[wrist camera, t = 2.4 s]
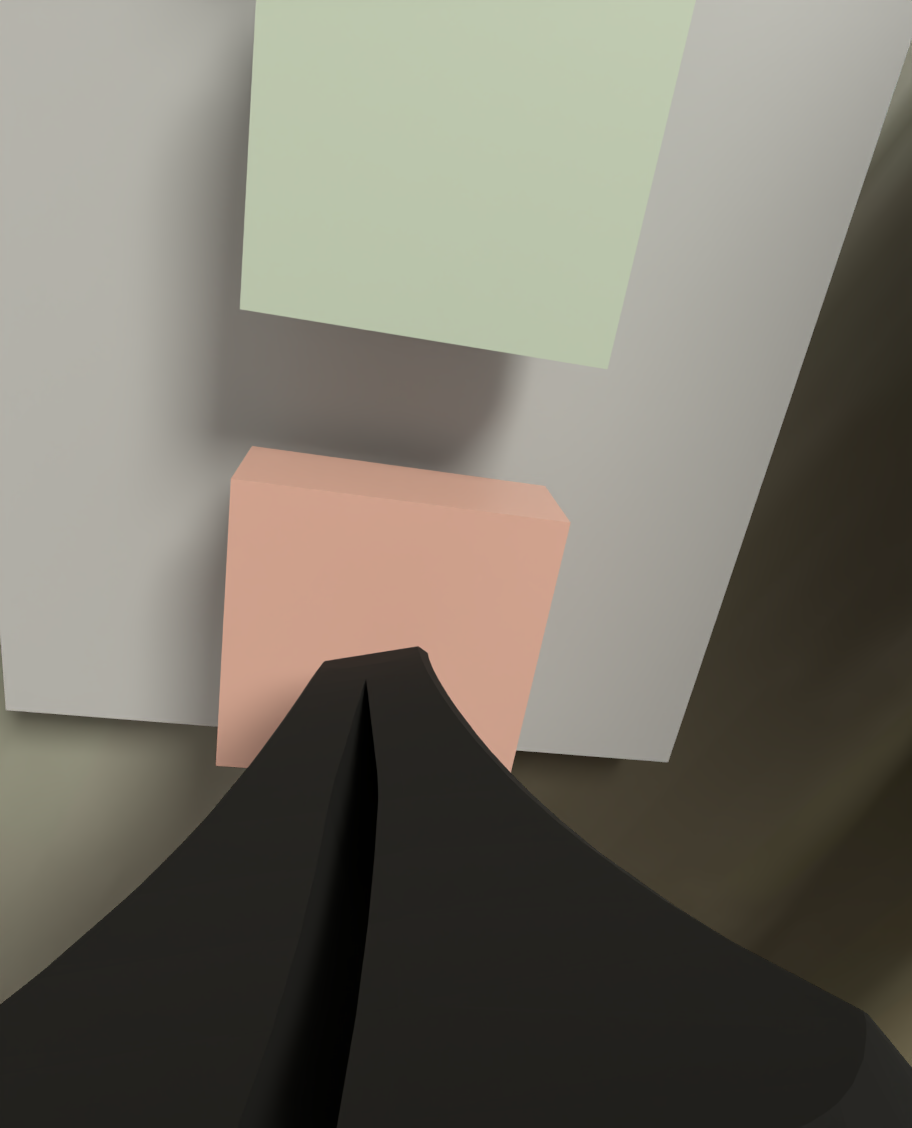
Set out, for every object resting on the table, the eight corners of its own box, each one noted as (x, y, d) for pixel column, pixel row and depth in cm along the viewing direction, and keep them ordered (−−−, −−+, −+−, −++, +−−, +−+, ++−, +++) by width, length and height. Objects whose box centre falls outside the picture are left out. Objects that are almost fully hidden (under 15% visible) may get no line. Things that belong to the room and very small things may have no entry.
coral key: (527, 460, 14) (570, 522, 11) (481, 679, 16) (507, 786, 12) (266, 423, 13) (231, 478, 10) (250, 657, 15) (215, 766, 12)
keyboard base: (1071, -637, 10) (1191, -790, 8) (644, 720, 18) (667, 762, 17) (-59, -1118, 8) (-160, -1435, 6) (40, 668, 16) (6, 710, 15)
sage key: (620, 15, 11) (714, -75, 8) (552, 340, 13) (607, 369, 10) (299, -63, 10) (266, -194, 7) (275, 293, 12) (240, 309, 9)
